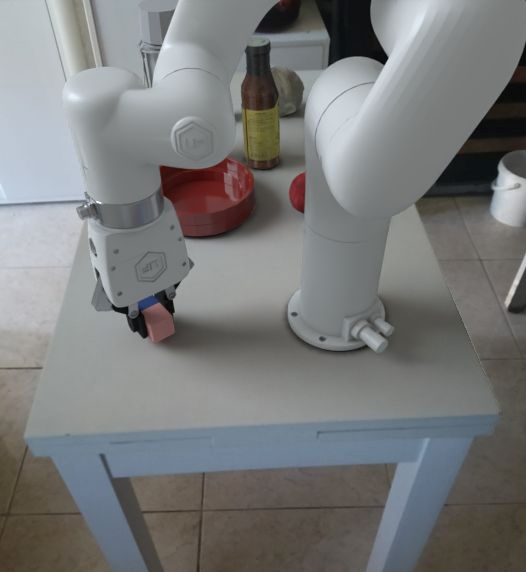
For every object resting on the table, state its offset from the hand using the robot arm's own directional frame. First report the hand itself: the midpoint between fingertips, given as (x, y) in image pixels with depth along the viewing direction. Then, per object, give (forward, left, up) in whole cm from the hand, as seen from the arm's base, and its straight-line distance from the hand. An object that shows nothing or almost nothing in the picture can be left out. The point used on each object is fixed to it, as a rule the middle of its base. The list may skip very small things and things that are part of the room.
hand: (153, 324), depth 72 cm
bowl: (+20, -20, -2) cm, 28 cm away
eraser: (0, 0, 0) cm, 0 cm away
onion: (+8, -32, -2) cm, 33 cm away
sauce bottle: (+25, -36, -2) cm, 44 cm away
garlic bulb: (+38, -50, -2) cm, 63 cm away
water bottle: (+34, -24, -2) cm, 42 cm away
